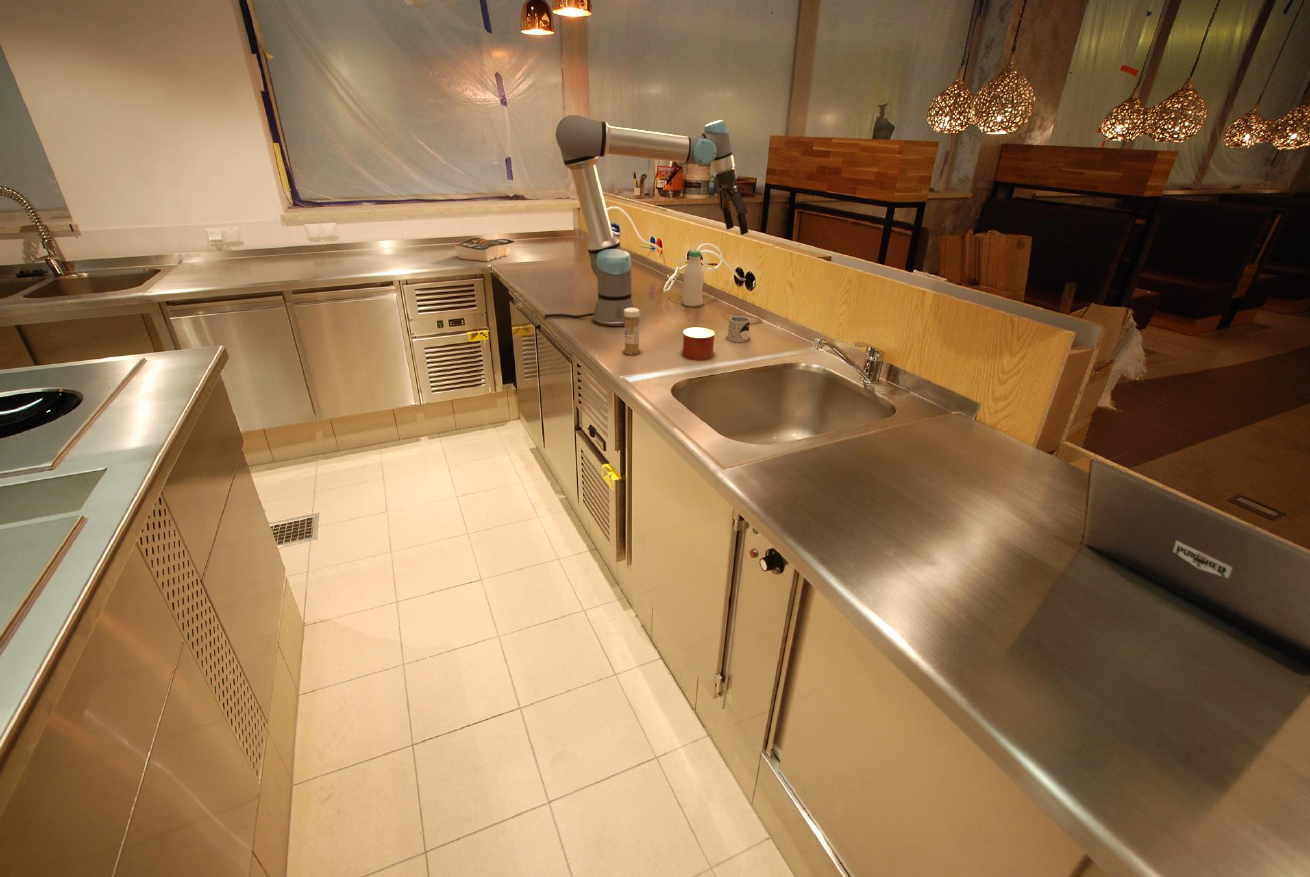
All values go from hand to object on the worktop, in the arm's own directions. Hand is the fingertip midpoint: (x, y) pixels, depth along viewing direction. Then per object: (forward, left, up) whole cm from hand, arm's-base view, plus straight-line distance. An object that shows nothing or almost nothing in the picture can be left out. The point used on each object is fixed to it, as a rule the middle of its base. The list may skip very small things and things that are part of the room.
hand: (737, 231), depth 211 cm
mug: (+18, -36, -28) cm, 49 cm away
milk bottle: (-13, -8, -28) cm, 32 cm away
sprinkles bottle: (-5, -67, -28) cm, 72 cm away
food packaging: (-144, +15, -28) cm, 148 cm away
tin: (+13, -58, -27) cm, 65 cm away
